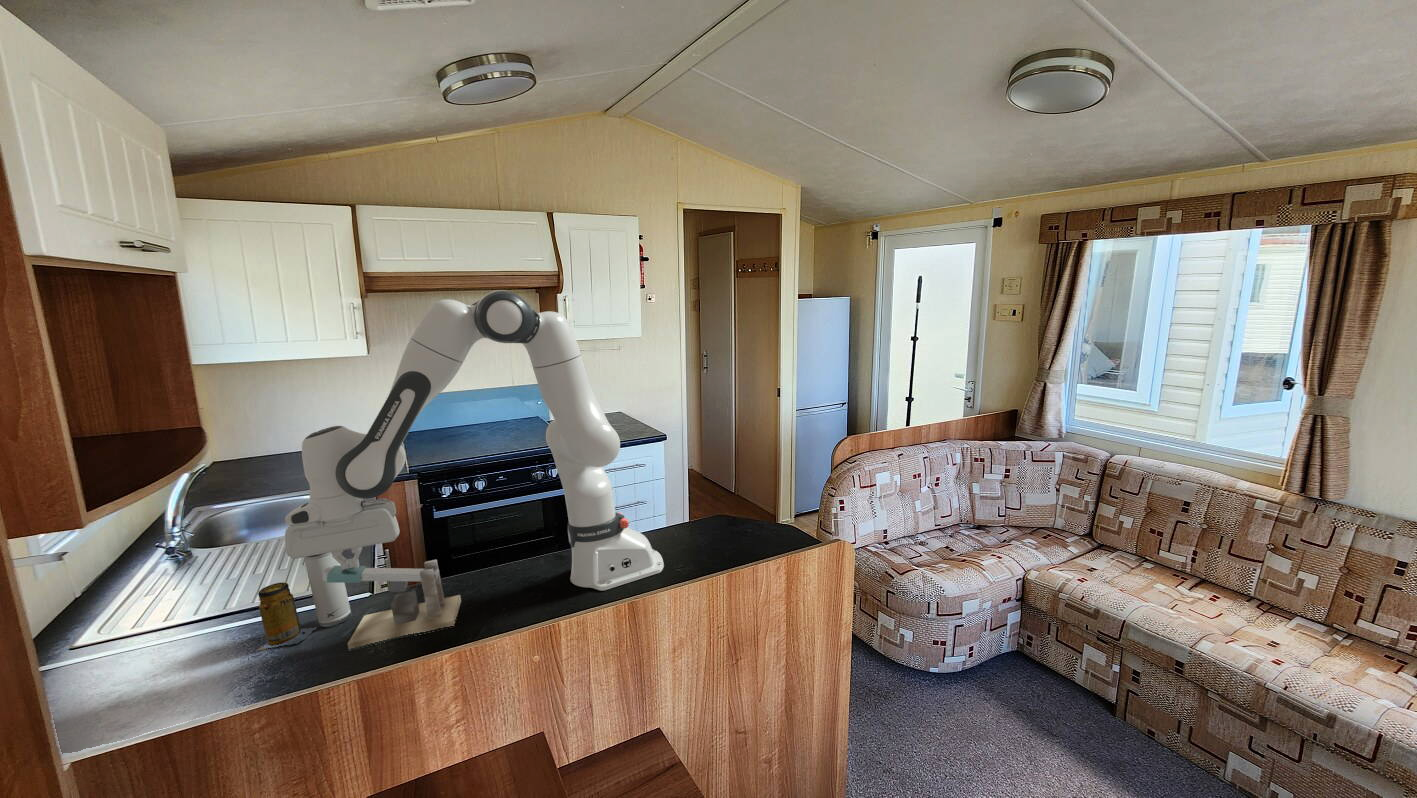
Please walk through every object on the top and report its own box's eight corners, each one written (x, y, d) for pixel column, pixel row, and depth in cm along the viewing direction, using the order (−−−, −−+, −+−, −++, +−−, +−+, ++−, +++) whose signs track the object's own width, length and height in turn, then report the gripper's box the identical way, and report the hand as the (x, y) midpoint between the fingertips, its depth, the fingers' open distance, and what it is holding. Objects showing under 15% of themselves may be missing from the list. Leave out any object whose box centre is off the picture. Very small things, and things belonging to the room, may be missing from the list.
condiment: (279, 632, 130) (266, 582, 128) (318, 626, 131) (307, 576, 129) (257, 651, 123) (244, 598, 121) (299, 645, 123) (287, 592, 121)
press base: (461, 600, 136) (452, 551, 134) (454, 626, 124) (443, 573, 122) (365, 621, 131) (354, 570, 129) (349, 650, 119) (336, 595, 117)
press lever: (438, 584, 130) (439, 567, 130) (434, 593, 126) (436, 575, 126) (327, 584, 124) (329, 565, 124) (320, 593, 120) (321, 574, 119)
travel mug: (337, 628, 129) (318, 542, 126) (312, 627, 130) (293, 543, 127) (359, 613, 135) (341, 531, 132) (335, 612, 136) (317, 531, 133)
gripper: (396, 492, 126) (407, 552, 128) (288, 509, 121) (301, 572, 123) (389, 501, 120) (401, 564, 122) (275, 519, 115) (289, 585, 117)
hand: (350, 568), depth 123 cm, fingers closed
